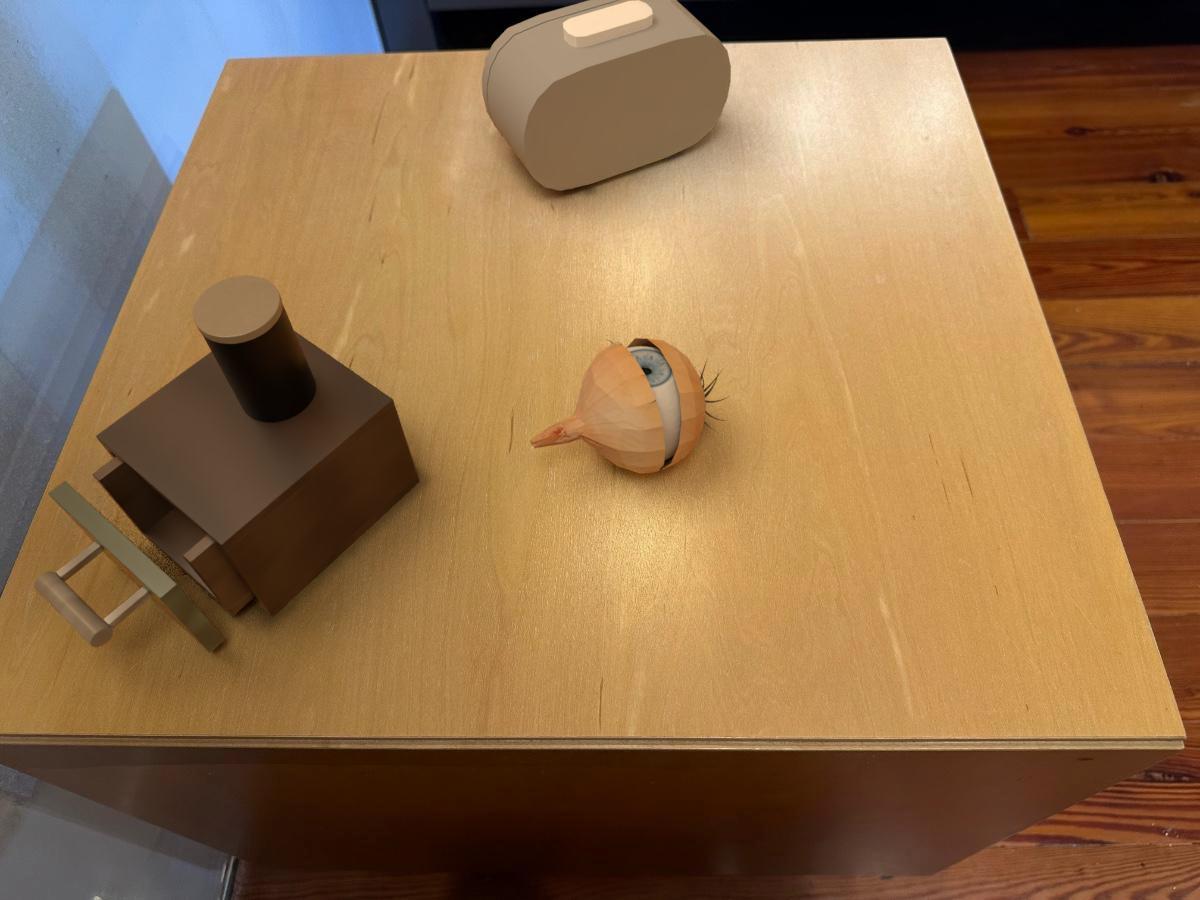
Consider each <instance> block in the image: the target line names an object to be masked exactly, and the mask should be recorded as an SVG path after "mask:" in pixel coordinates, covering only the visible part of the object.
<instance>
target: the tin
mask: <svg viewBox="0 0 1200 900" xmlns="http://www.w3.org/2000/svg"><path fill="white" fill-rule="evenodd" d="M282 299H283V298H282V297H281V294H280V291H279V289H278V288H277V287H276V285H275V284H274V283H273V282H271V281H270V280H268V279H266V278H264V277H261V276H258V275H257V276H256V275H247V274H246V275H244V274H243V275H235V276H231V277H228V278H225V279H222V280H219V281H217V282H216V283H214V284H212V285H211V286H208V288H207V289H205V290H203V292H202V293H201V294H200V295H199V296H198V297H197V299H196V301H195V303H194V305H193V309H192V319H193V322H194V324H195V326H196V329H198V331H199V333H200V334H201V336H202V337H203V339H204V341H205V343H206V344H207V347H208V348H209V350H210V352H212V353H213V355H214V357H215V359H216V361H217V363H218V364H219V366H220V368H221V370H222V372H223V374H224V375H225V377H226V379H227V381H228V383H229V385H230V387H231V388H232V390H233V392H234V394H235V396H236V398H237V399H238V401H239V403H240V405H241V407H242V409H243V410H244V412H245V413H246V414H247V415H248V416H250V417H251V418H253V419H255V420H258V421H262V422H279V421H284V420H287V419H290V418H292V417H294V416H296V415H298V414H299V413H301V412H302V411H303V410H304V409H305V408H307V407H308V405H309V404H310V403H311V401H312V400H313V398H314V395H315V392H316V383H315V379H314V377H313V375H312V372H311V370H310V367H309V365H308V363H307V360H306V358H305V356H304V353H303V351H302V348H301V346H300V344H299V341H298V339H297V337H296V334H295V332H294V331H295V329H294V327H293V325H292V323H291V320H290V317H289V315H288V313H287V311H286V309H285V306H284V303H283V300H282Z"/></svg>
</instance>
